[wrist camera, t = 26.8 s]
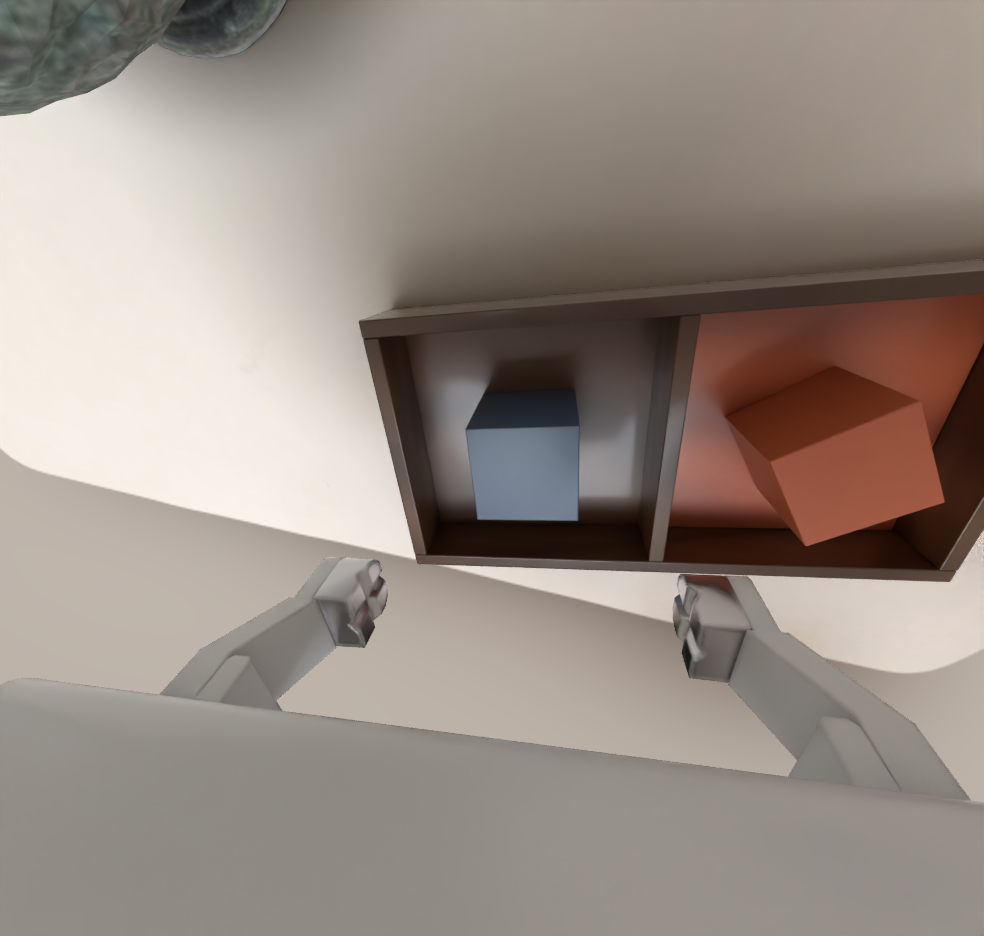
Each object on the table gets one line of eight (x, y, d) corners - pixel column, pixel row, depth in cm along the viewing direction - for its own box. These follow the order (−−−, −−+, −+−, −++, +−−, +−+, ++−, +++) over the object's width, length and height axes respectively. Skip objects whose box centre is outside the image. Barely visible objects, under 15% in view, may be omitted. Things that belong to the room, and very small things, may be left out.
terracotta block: (835, 364, 16) (921, 400, 13) (861, 447, 18) (946, 502, 14) (724, 416, 18) (769, 461, 14) (756, 488, 20) (805, 547, 16)
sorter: (391, 309, 19) (357, 320, 16) (1028, 254, 14) (1158, 256, 11) (434, 525, 25) (416, 564, 22) (891, 532, 21) (950, 582, 17)
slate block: (575, 389, 19) (580, 425, 15) (574, 470, 21) (578, 521, 17) (483, 393, 19) (464, 428, 16) (491, 471, 22) (477, 520, 18)
